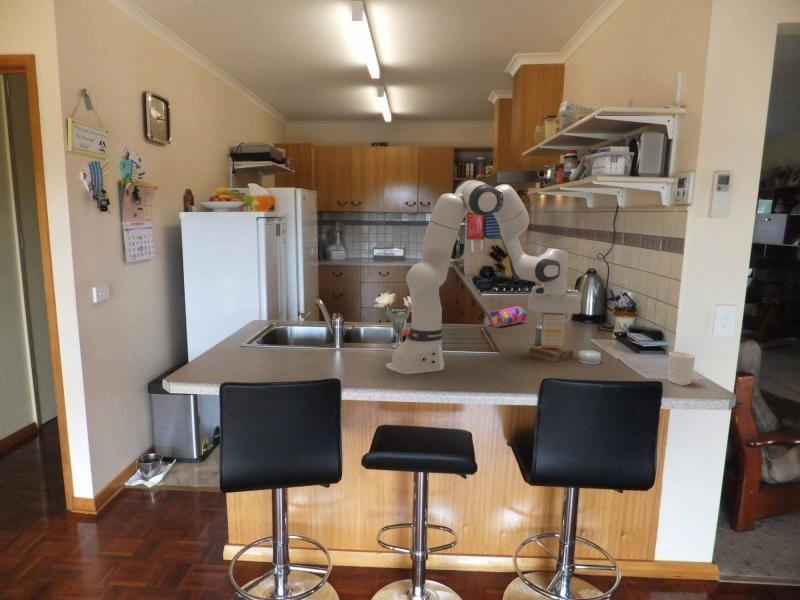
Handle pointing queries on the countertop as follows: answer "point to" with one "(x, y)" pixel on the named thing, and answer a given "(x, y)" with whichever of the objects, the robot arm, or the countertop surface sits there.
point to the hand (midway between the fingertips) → (552, 323)
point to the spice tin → (538, 335)
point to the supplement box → (552, 329)
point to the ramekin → (589, 356)
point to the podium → (551, 353)
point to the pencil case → (507, 316)
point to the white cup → (680, 367)
